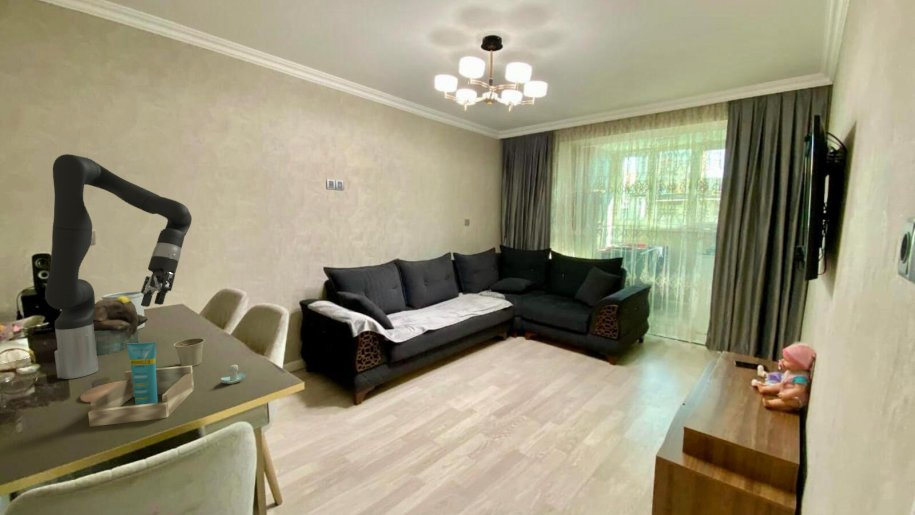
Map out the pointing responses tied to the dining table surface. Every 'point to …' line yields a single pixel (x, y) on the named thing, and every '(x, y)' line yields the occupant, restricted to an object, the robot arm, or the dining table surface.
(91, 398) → the saucer
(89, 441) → the dining table surface
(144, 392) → the tube
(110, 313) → the brown and grey lump
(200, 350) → the flower pot
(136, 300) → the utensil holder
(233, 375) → the pacifier
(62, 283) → the robot arm
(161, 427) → the dining table surface
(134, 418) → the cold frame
